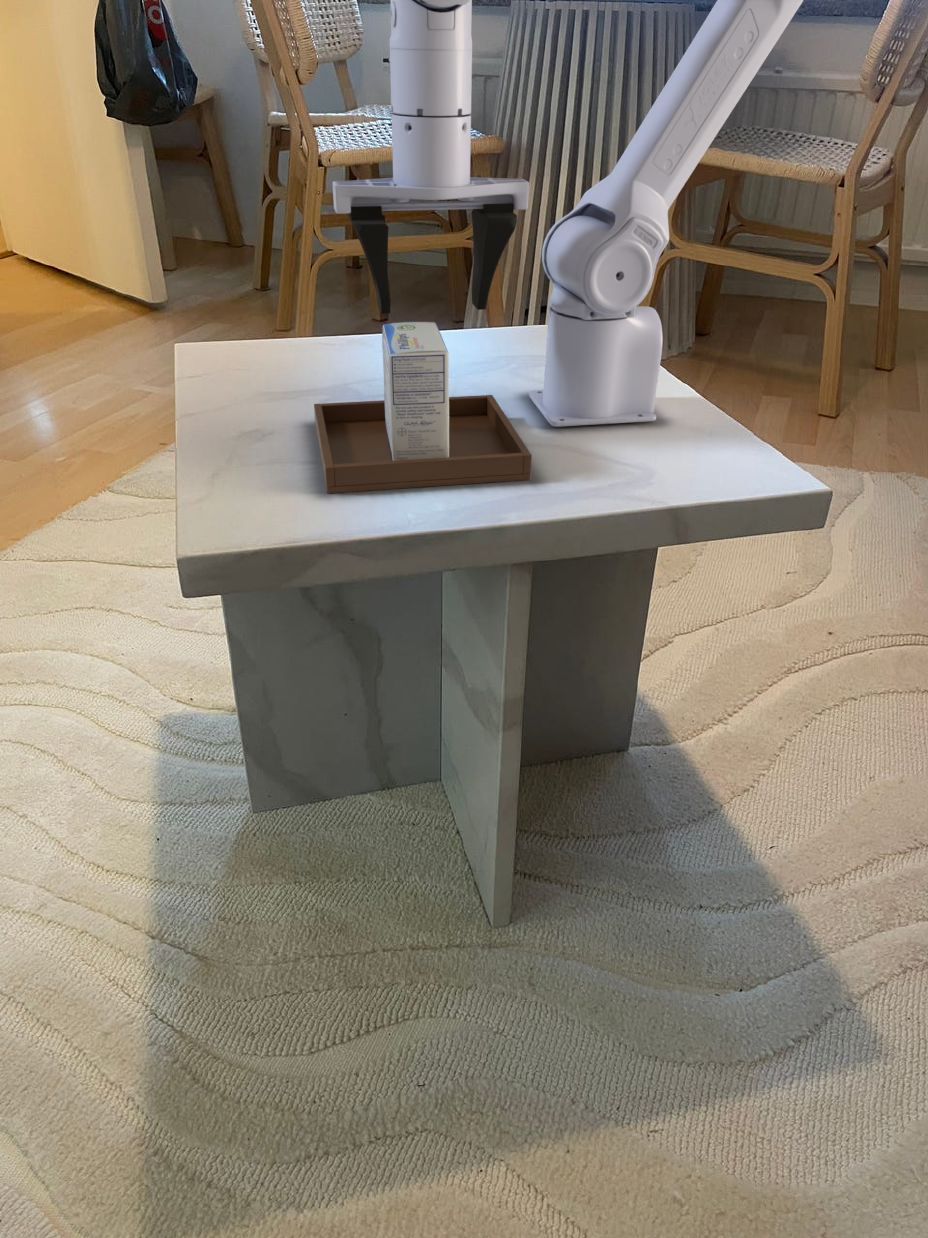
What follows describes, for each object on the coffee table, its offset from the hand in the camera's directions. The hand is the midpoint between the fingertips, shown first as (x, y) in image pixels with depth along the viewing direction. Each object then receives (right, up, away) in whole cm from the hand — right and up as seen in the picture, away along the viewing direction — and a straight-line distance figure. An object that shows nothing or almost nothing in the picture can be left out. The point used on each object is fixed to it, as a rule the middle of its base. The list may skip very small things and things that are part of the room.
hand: (432, 308), depth 73 cm
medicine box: (-1, -11, 0) cm, 11 cm away
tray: (-1, -11, 0) cm, 12 cm away
